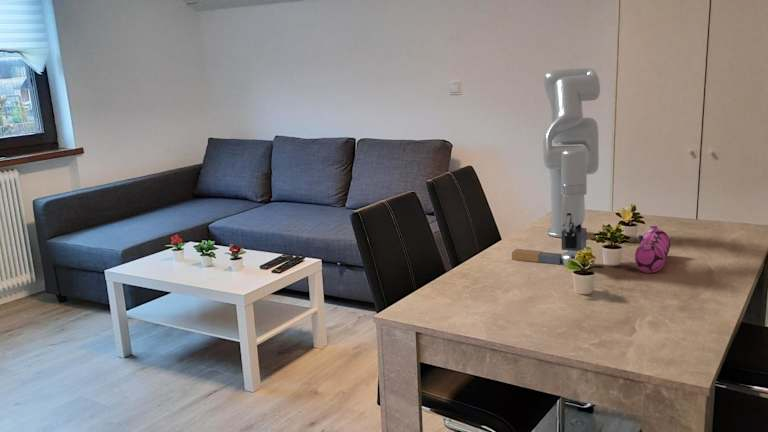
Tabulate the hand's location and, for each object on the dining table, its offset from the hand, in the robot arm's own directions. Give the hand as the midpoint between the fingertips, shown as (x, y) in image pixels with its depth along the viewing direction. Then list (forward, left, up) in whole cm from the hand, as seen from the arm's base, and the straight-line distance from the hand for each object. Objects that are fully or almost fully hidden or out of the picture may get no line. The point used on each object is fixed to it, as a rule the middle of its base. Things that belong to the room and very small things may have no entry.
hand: (573, 244), depth 208 cm
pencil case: (-9, +22, -7) cm, 24 cm away
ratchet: (0, -8, -7) cm, 10 cm away
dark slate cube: (0, 0, -1) cm, 1 cm away
